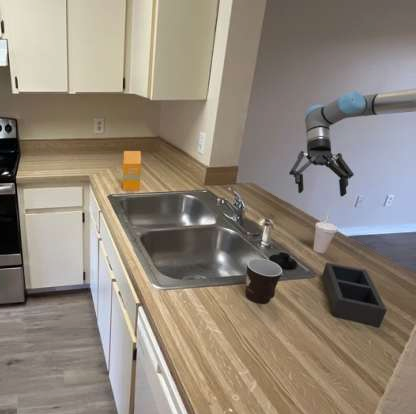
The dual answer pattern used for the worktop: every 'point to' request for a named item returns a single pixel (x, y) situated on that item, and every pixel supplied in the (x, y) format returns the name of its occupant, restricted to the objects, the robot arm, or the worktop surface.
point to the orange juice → (131, 170)
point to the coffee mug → (261, 280)
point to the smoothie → (323, 235)
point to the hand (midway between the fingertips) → (321, 193)
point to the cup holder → (352, 295)
